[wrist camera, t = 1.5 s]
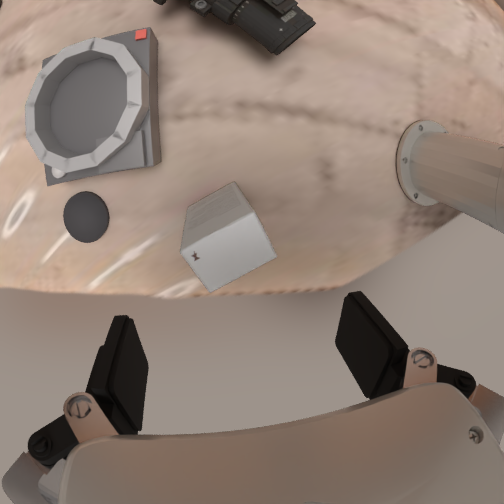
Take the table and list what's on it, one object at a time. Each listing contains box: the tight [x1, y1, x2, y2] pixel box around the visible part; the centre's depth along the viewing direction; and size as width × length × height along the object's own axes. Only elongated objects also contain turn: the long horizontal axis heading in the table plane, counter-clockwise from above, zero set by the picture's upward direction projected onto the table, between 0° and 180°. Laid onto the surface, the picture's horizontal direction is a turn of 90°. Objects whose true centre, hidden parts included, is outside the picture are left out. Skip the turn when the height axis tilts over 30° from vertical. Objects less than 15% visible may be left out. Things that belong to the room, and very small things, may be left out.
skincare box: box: [180, 182, 277, 293], centre depth 25 cm, size 6×4×12 cm
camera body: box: [25, 27, 161, 186], centre depth 19 cm, size 12×14×8 cm
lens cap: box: [63, 191, 109, 243], centre depth 27 cm, size 6×6×1 cm
